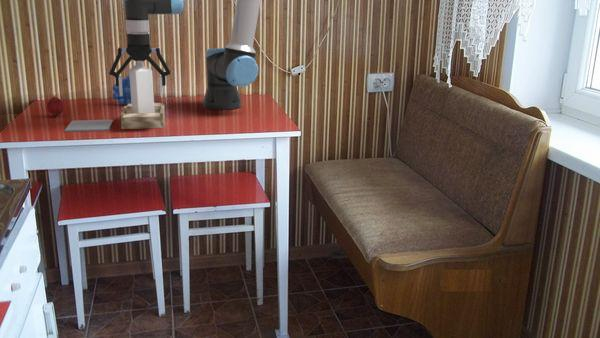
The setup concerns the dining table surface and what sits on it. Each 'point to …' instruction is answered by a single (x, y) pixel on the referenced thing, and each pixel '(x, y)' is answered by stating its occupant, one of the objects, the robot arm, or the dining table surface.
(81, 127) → the plate
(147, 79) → the milk
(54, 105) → the onion
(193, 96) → the dining table surface
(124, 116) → the crate
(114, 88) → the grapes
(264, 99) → the dining table surface
